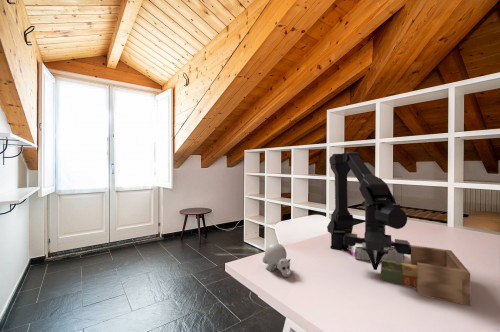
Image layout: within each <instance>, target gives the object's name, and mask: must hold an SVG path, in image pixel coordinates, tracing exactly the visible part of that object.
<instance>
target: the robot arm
mask: <svg viewBox="0 0 500 332" xmlns="http://www.w3.org/2000/svg"><path fill="white" fill-rule="evenodd" d="M329 164H330V170H331V171H332V173H333V174H334V201H335V202H334V205H335V206H334V210H333V212H332V213H331V216H330V221H329V223H328V225H327V226H326V228H327V233H329V234H330V247H329V248H330V249H334V250H341V251H348V249H349V246H354V245H355V244H356V243H360V244H362V245H363V247H362V250H365V251H366V252H367V253H368V255H369V257H370V260H369V261H370V263H371V265H372V268H373V270H374V271H377V270H378V267H379V265H380V262H381V261H380V260H381V258H382V256H383V255H384V254H388V249H389V248H394V249H395V250H396V251H397V252H398V253H400V254H404V255H406V256H407V255H408V256H410V255H411V246H410V245H411V244H410V242H409V241H408V240H405V239H397V238H395V239H394V241H393V242H391V240H392V235H391V234H386V226H387V227H388V228H392V229H395V230H399V229H403V228H404V227H405V226H406V224H407V222H408V216H407V214H406V212H405V211H404V210H403V209H401V204H399V203H397V202H396V198H395V197H394V195H393V194H392V191H391V189H390V187H389V185H388V184H387V183H386V182H385V181H384V180H383V179H382V178H380V177H378V176H376V175H374V174H373V173H372V172H371V170H370V169H369V168H368V166H367V165H366V163H365V162H364V161H363V159H362V158H361V156H360V153H358V152H356V151H346V152H343V153H333V154H332V155H330V157H329ZM350 171H351V172H352V173H353V175H354V176H355V177H356V180H357V181H358V183H359V186H358V187H359V188H358V190H359V191H360V194H361V197H363V199H364V200H363V201H362V202H361V206H362V205H363V206H364V228H365V229H364V234H363V235H364V237H358V234H357V233H353V229H354V215H353V214H351V213H350V211H349V208H348V207H349V205H348V202H349V201H348V198H349V197H348V174H349V172H350ZM374 250H376V251H377V255H376V261H375V258H374Z"/></svg>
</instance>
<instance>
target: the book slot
mask: <svg viewBox="0 0 500 332" xmlns="http://www.w3.org/2000/svg"><path fill="white" fill-rule="evenodd" d="M410 246H411V255H409V256H410V264H412V265H417V288H416V293H417V295H418V296H423V297H428V298H433V299H438V300H442V301H447V302H451V303H456V304H461V305H465V306H469V307H471V271H469V270H468V268H466V266H465V265H464V264H463V263H462V261H460V259H459V258H458V257H457V255H455V253H454V252H453V251H452V250H450V249H444V248H436V247H428V246H420V245H414V244H413V245H412V244H410Z"/></svg>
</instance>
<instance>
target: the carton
mask: <svg viewBox="0 0 500 332" xmlns="http://www.w3.org/2000/svg"><path fill="white" fill-rule="evenodd" d="M380 281H382V282H386V283H391V284H395V285H401V286H404V287H409V288H414V289H417V265H412V264H411V263H406V262H404V263H403V262H394V261H388V260H383V259H382V261H381V267H380Z"/></svg>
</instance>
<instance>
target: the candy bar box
mask: <svg viewBox="0 0 500 332" xmlns="http://www.w3.org/2000/svg"><path fill="white" fill-rule="evenodd" d="M391 242H394V240H393V239H391ZM362 247H363V245H362V244H360V243H356V244H355V245H354V246H349V248H348V249H349V251H350V253H351V254H352V256H353V257H354V259H355V260H360V261H361V260H362V261H363V260H364V261H371V260H370V257H369V255H368V253H367V252H366V251H365V250H362ZM376 255H377V251H376V250H374V258H375V262H376ZM382 259H383V260H388V261H394V262H400V263H405V254H400V253H398V252H397V251H396V250H395V249H394V248H389V249H388V254H384V255H383V256H382V258H381V260H380V262H382Z"/></svg>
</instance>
